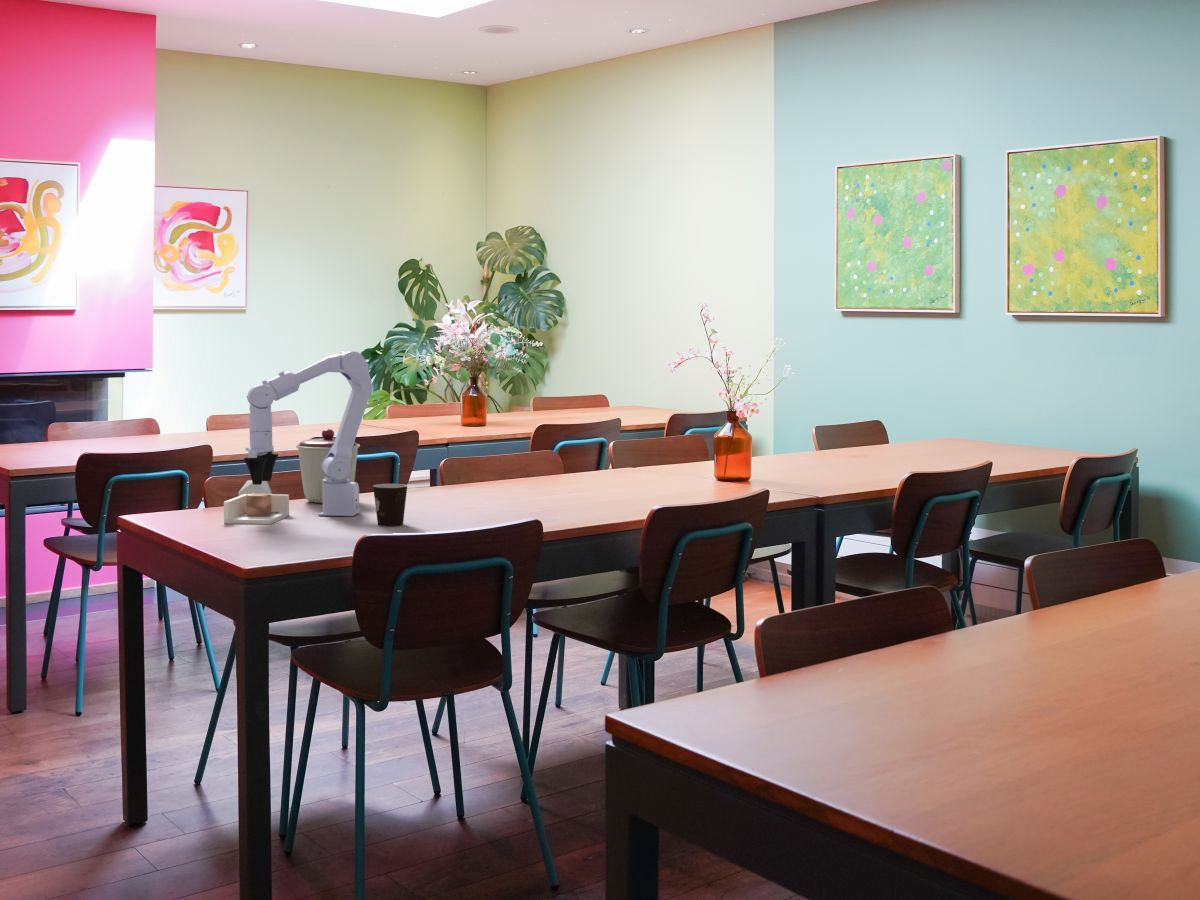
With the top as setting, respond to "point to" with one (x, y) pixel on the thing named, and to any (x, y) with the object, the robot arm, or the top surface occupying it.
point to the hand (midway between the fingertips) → (261, 482)
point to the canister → (319, 464)
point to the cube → (258, 504)
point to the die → (255, 488)
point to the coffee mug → (390, 503)
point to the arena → (238, 514)
